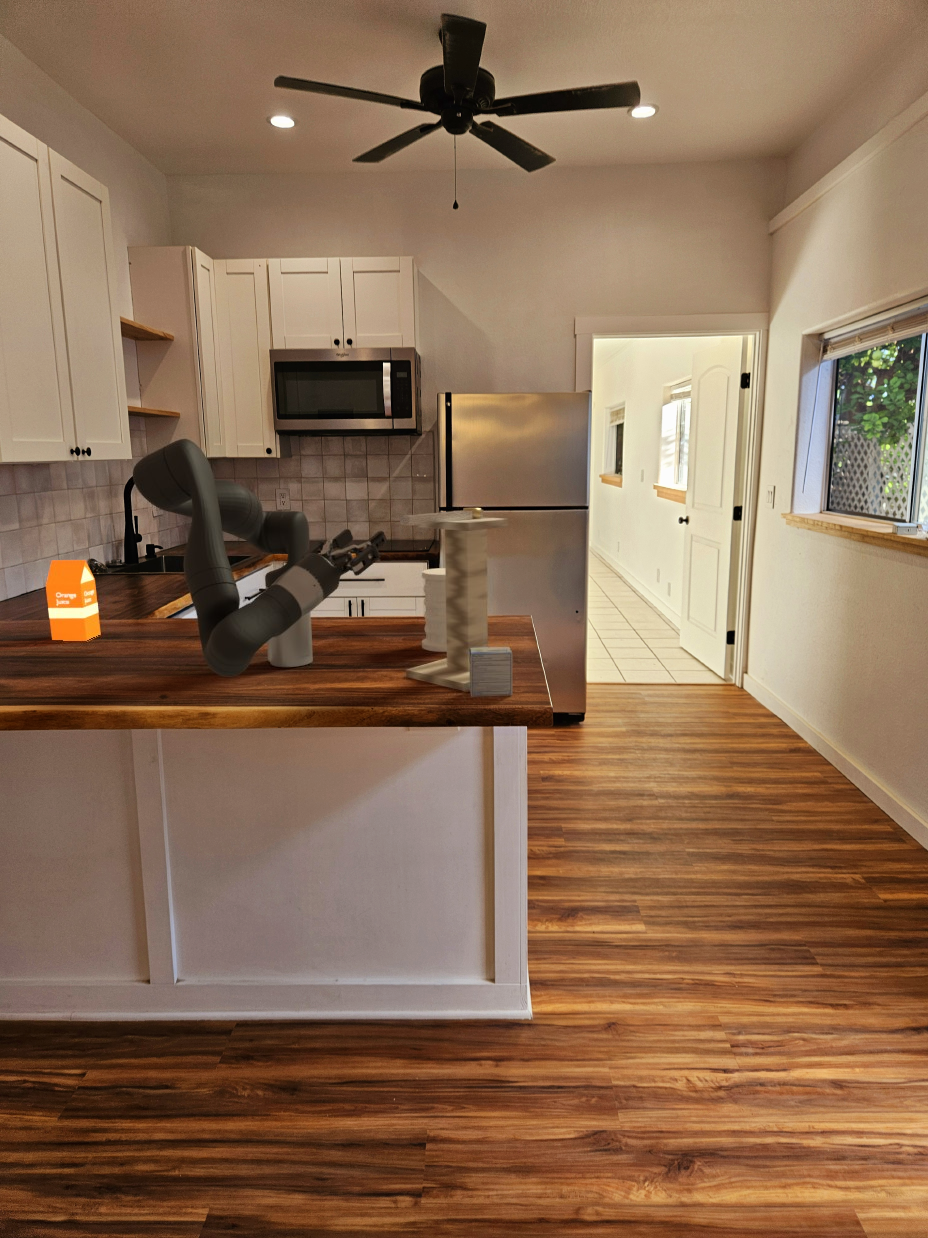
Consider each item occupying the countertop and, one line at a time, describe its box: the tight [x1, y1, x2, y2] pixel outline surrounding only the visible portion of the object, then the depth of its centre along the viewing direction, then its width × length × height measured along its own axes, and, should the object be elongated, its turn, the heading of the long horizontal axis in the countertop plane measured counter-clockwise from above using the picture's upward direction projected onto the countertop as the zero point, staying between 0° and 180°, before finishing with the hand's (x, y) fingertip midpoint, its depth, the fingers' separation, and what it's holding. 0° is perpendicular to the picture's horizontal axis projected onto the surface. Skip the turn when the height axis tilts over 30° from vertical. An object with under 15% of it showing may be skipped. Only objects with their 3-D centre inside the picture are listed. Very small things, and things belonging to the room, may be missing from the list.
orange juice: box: [45, 559, 101, 642], centre depth 202 cm, size 8×9×20 cm
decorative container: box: [421, 567, 447, 653], centre depth 189 cm, size 12×12×18 cm
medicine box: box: [469, 646, 513, 698], centre depth 152 cm, size 8×4×9 cm, turn 94°
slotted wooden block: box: [399, 507, 484, 526], centre depth 155 cm, size 4×21×2 cm, turn 138°
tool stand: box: [405, 516, 510, 692], centre depth 162 cm, size 16×15×32 cm
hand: (366, 534), depth 141 cm, fingers open, 8 cm apart
